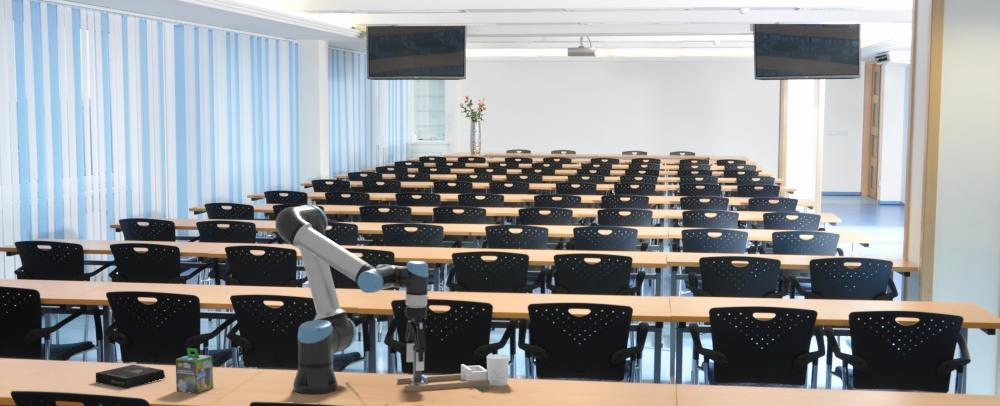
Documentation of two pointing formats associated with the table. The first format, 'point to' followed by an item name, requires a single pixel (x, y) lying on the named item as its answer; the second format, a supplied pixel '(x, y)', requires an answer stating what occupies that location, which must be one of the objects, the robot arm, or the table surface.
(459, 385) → the pitch
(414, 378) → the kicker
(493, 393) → the table surface
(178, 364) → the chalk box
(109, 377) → the flat black box
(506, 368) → the white cup
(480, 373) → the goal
